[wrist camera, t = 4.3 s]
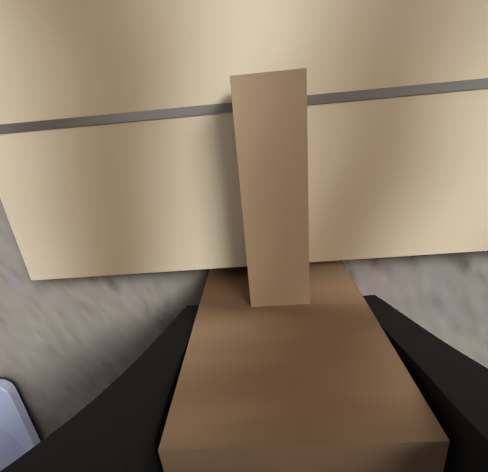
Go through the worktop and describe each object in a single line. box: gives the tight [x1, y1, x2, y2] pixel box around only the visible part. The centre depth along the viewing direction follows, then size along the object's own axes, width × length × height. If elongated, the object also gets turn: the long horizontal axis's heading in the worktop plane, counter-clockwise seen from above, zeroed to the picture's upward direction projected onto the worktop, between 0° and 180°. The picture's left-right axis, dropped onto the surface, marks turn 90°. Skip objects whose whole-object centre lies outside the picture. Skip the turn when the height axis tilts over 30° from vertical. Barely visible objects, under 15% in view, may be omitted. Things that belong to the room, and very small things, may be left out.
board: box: [0, 0, 488, 280], centre depth 8 cm, size 18×8×1 cm, turn 95°
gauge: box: [158, 68, 450, 472], centre depth 7 cm, size 4×8×6 cm, turn 5°
